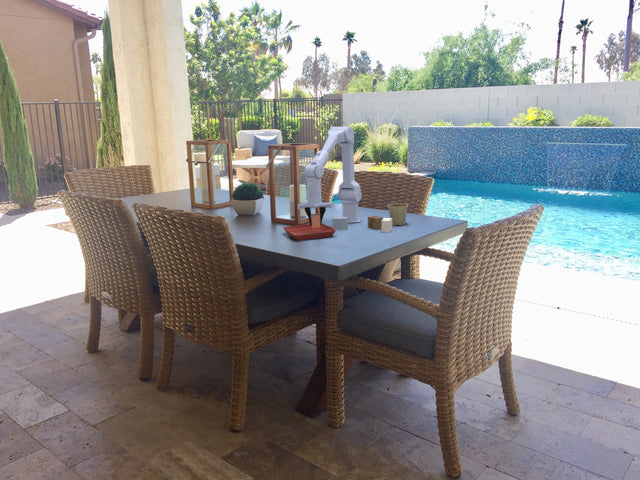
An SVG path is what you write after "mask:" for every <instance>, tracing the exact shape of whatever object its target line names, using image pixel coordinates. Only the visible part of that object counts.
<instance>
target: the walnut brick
mask: <svg viewBox="0 0 640 480" xmlns="http://www.w3.org/2000/svg"><path fill="white" fill-rule="evenodd" d="M383 219H384V217H382V216H379V215H370V216H367V228H368V229H372V230H376V231H378V230H382V220H383Z"/></svg>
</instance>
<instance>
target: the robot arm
mask: <svg viewBox="0 0 640 480" xmlns="http://www.w3.org/2000/svg"><path fill="white" fill-rule="evenodd" d="M354 144H355V130H354V128H352V127H351V126H349V125H348V126H330V127H329V129H328V131H327V138H326V140H325V142H324V144H323V146H322V149H321V150H318V151H317V152H316V153H315V155H314V157H313V159H312V160H311V162H310V163H309V164H307V165H306V166H305V167H304V169H303V175H304V177H305V182H306V185H307V186H306V187H307V202H305V203H298V204H297V210H304V211H305V214H306V216H307V218H308V221H309V222H308V223H309V224H310V226H312V222H311V214H312V209H319V214H320V225H322V223H323V219H324V216H325V213H326V211H327V208H329V209H333V202H322V201H323V199H322V198H323V196H322V177H323V176H324V173H325V167H326V165H327V163H328V162H329V160H330V154H331V152H332V151H333V150H334V148H335V146H336V145H339V146H340V147H341V161H342V162H341V163H342V165H341V166H342V168H341V169H342V182H341V183H340V184H339V186H338V193H337V197H338V199H339V201H340V203H342V206H341V207H342V217H348V224H349V223H360V222H361V221H360V219H359V203H360V201H361V199H362V197H363V196H362V195H363V194H362V190H361V185H360V184H359V183H358V182H356V179H355V162H354V159H355V155H354Z"/></svg>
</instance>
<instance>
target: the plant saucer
mask: <svg viewBox="0 0 640 480" xmlns="http://www.w3.org/2000/svg"><path fill="white" fill-rule="evenodd" d="M282 229H283V230H284V231H285V233H286V234H287V235H289V236H290V237H292V238H293V239H294V240H296V241H306V240H315V239H323V238H331V237H333V235H334V234H335V233H336V232H337V230H336V229H334V228H333V227H331V226H329V225H327V224H324V223H323V222H322V225H320V228H312V226H310V223H308V224H299V225H289V226H282Z"/></svg>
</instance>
